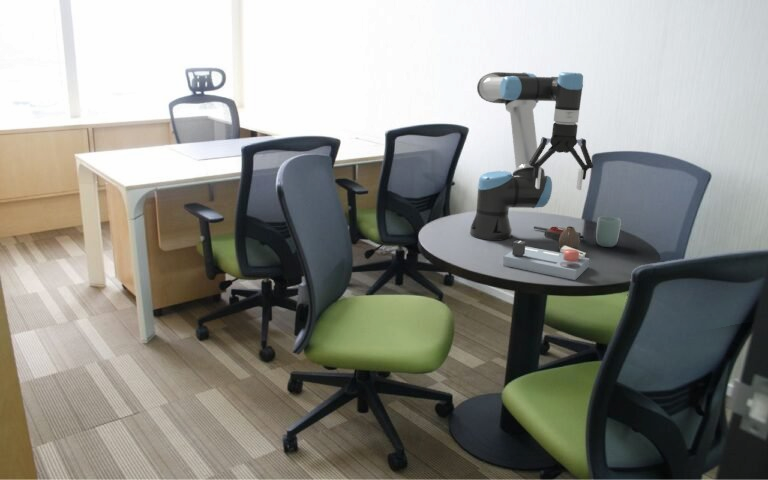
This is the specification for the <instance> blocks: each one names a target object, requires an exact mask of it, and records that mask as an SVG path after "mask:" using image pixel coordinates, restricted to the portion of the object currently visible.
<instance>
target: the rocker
mask: <svg viewBox="0 0 768 480" xmlns="http://www.w3.org/2000/svg"><path fill="white" fill-rule="evenodd" d="M566 249H573V248H571V247H568V246H563V247H562V248H561V249H559V250H560V251H559V253H563V254H564V250H566ZM573 250H576V249H573ZM577 251H579V257H578V259H583V258H584V257H585V258H586V254H587V253H586V252H584V251H581V250H579V249H577Z"/></svg>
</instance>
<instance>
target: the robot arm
mask: <svg viewBox="0 0 768 480" xmlns="http://www.w3.org/2000/svg"><path fill="white" fill-rule="evenodd" d="M583 84H584V75H583V74H582V73H580V72H567V71H566V72H560V73H559V75H558V76H551V77H550V76H549V77H548V76H547V77H545V76H537V75H535V74H534V73H530V72H504V71H503V72H502V71H499V72H497V71H496V72H495V71H494V72H490V73H487V74H484V75H483V76H481V78H480V79H479V80H478V83H477V85H476V90H477V91H476V92H477V94H478V95H479V97H480V98H481V99H482V100H484V101H486V102H489V103H492V104H493V103H494V104H503V105H505V110H506V111H507V112H508V113H510V114H509V115H510V125H511V132H512V133H511V135H512V143H513V153H514V163H515V169H514V171H513V172H512V173H511V172H510V171H506V170H504V171H501V170H498V171H497V170H496V171H489V172H485V173H482V175H480V176H479V179H478V185H477V198H476V202H477V203H476V213H475V216H474V219H473V221H472V223H471V226H470V229H469V230H470V232H469V234H470V235H471V236H472V237H475V238H478V239H481V240H482V239H483V240H487V241H488V240H489V241H503V240H507V239H511V237H512V226H511V223H510V219H509V210H510V209H511V208H514V209H515V208H516V209H517V208H518V209H519V208H524V209H525V208H526V209H527V208H528V209H529V208H530V209H531V208H532V209H535V208H544V207H545V206H547V204H548V203H549V201H550V199H551V195H552V191H553V180H552V178H551V177H550V176H549V175H546V174H545V169H544V168H543V167H542V166H543V164H544V163H545V162H546V161H547V160H549V158H550V157H551V156H553V155H554V154H555V153H556V152H557V153H566V154H568V153H570V154H571V155H572V156H573V158H574V159H575V161H576V162H577V163H578V165H579V167H580V168H578V172H577V181H576V190H579V191H582V186H583V180H586V177H587V172H588V170H590V169H593V168H594V165H593V162H592V158H591V157H590V153H589V150H588V148H587V140H586V139H585V138H580V139H577V134H578V124H577V123H578V122H579V117H580V109H581V100H582V94H583V87H584V85H583ZM540 101H541V102H555V106H554V114H553V122H554V123H553V124H552V131H551V138H548V137H544V136H542V137H541V140H540V144H539V145H538V142H537V134H536V125H535V115H534V109H535V108H536V107H537V104H538V103H539V102H540ZM549 143H550V144H551V146H550V147H549V148H548V150H547V151H546V152H545V153H544V154H542V153H543V151H544V149H546V146H547V145H548V144H549ZM576 145H578V146H579V147H580V151H581V153H582V155H583V158H584V160H585V162H584V161H583V159H582V158H581V156H580V154H579V153H578V152H577V150H576V148H574V147H575V146H576ZM541 154H542V156H541ZM509 208H510V209H509Z"/></svg>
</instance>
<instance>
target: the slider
mask: <svg viewBox="0 0 768 480" xmlns="http://www.w3.org/2000/svg"><path fill="white" fill-rule="evenodd" d="M526 243H527V242H526V241H523V240H514V241H513V243H512V250H511V251H512V254H513V255H518V256H522V255H524V254H525V246H526Z"/></svg>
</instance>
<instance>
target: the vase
mask: <svg viewBox="0 0 768 480" xmlns="http://www.w3.org/2000/svg"><path fill="white" fill-rule="evenodd" d="M565 228H566V229H565V230H564V231H563V232H562V234H561V235H560V237H559V240H558V248H559V250H561V248H562V247H563V246H568V247H571V248H573V249H576V250H579V247H580V240H581V239H580V240H579V236H578V234H577V231H576V229H575V227H574V226H571V225H570V226H566V227H565Z"/></svg>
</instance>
